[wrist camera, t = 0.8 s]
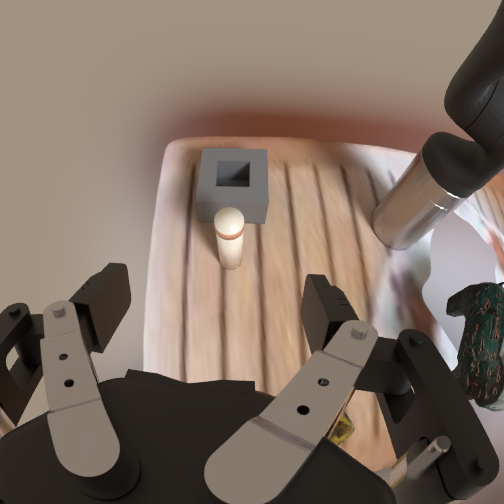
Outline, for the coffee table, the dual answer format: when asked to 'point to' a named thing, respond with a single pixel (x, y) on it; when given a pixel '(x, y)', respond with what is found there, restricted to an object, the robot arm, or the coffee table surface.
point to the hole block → (233, 183)
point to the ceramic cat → (481, 343)
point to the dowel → (229, 236)
